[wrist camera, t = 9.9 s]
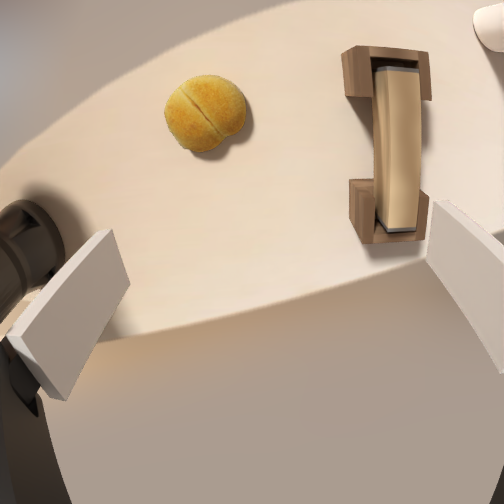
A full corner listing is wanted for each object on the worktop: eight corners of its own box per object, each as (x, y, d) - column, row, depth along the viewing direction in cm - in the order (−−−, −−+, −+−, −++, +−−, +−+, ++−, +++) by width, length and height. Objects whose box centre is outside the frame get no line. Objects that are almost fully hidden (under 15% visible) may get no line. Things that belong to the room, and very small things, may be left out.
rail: (373, 211, 34) (387, 232, 29) (369, 69, 26) (386, 66, 22) (398, 210, 34) (415, 230, 29) (397, 71, 26) (418, 69, 21)
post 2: (349, 218, 38) (362, 244, 32) (349, 179, 35) (364, 198, 29) (403, 215, 37) (424, 240, 31) (405, 178, 35) (429, 196, 28)
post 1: (402, 57, 28) (428, 52, 21) (405, 97, 30) (431, 100, 24) (341, 53, 28) (356, 45, 22) (345, 95, 31) (361, 96, 25)
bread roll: (260, 116, 33) (258, 119, 30) (197, 159, 36) (188, 167, 32) (218, 59, 30) (211, 56, 27) (157, 106, 33) (144, 108, 29)
